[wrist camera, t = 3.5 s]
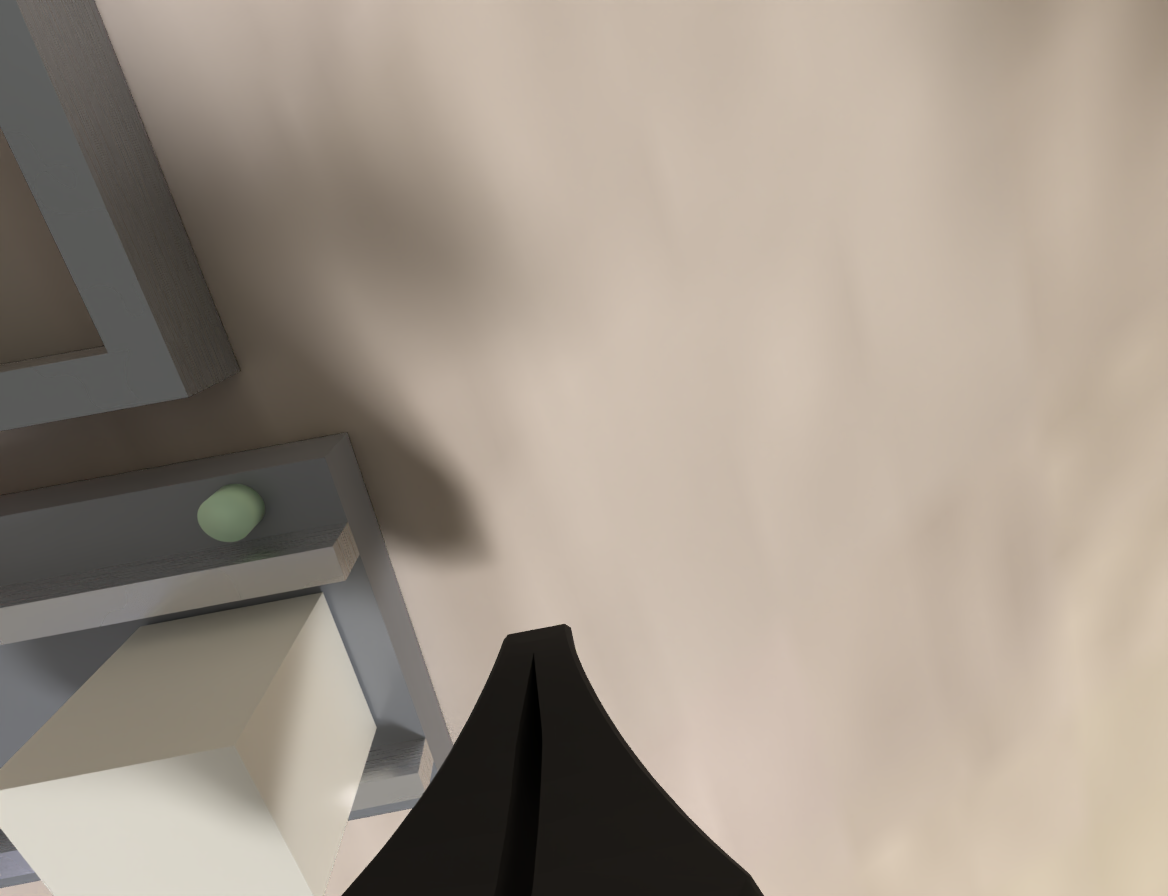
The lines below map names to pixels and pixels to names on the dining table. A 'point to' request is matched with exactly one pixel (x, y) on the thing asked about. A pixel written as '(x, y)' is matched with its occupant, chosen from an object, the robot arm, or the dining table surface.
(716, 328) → the dining table surface
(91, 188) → the grey square frame
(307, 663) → the block
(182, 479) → the breaker panel
